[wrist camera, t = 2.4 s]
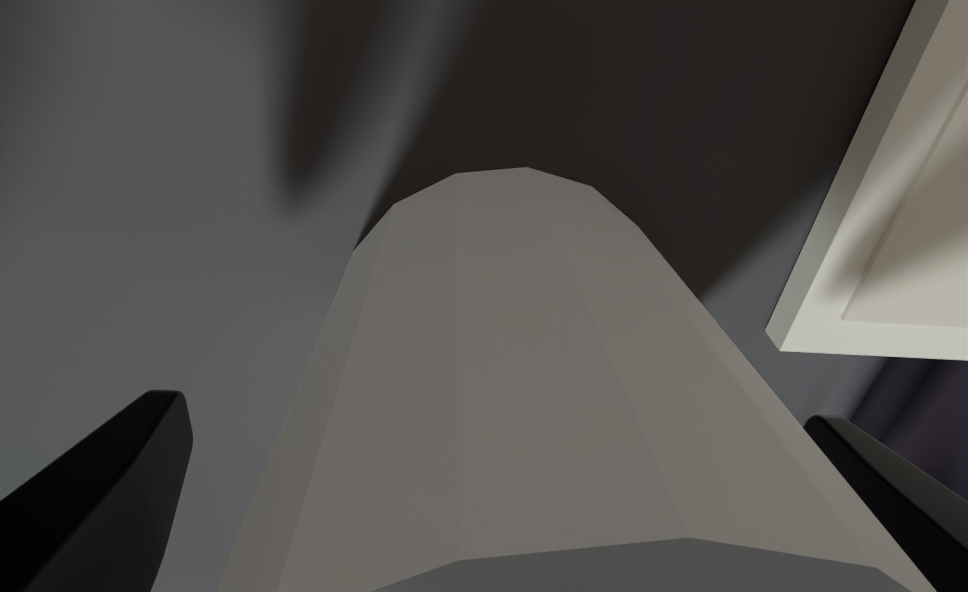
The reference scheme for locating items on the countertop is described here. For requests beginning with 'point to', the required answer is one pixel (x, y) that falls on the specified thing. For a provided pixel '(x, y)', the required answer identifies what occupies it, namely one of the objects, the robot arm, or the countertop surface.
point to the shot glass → (541, 423)
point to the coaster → (894, 212)
